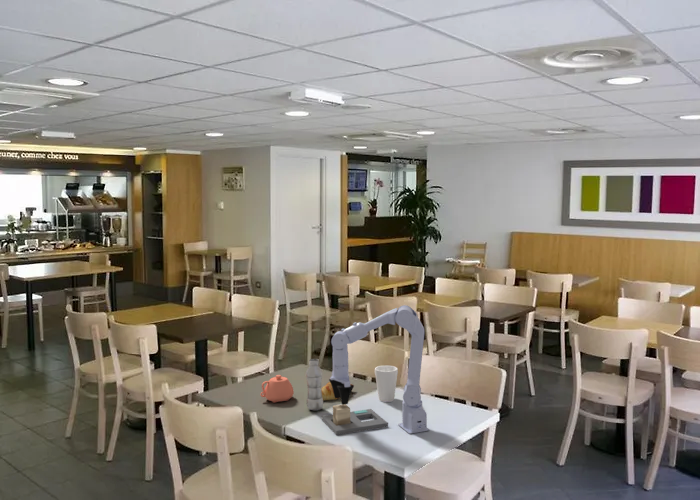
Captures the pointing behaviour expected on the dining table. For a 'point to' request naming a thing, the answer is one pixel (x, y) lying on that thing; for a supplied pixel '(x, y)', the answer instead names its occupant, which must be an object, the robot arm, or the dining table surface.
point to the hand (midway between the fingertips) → (341, 400)
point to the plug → (341, 414)
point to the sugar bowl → (277, 389)
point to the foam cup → (386, 382)
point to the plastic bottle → (314, 385)
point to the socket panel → (356, 422)
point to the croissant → (328, 392)
